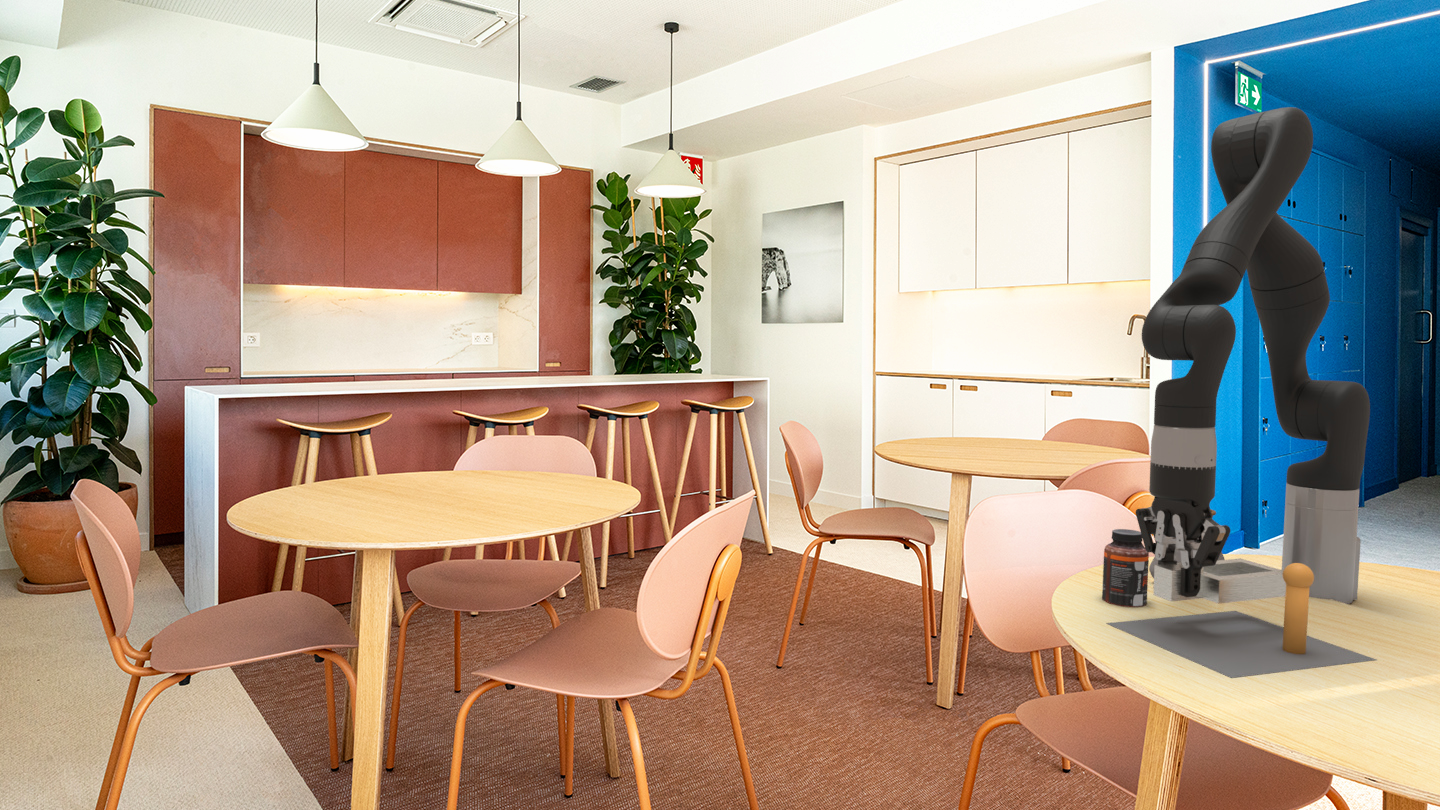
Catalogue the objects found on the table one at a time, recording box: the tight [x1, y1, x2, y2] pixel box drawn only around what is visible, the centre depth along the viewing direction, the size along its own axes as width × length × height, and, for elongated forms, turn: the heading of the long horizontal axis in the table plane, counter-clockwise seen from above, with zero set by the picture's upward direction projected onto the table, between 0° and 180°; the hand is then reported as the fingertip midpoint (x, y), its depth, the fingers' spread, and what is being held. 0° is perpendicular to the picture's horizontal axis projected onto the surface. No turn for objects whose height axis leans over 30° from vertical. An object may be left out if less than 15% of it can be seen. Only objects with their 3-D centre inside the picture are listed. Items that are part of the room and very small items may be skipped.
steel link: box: [1152, 558, 1286, 604], centre depth 116 cm, size 17×8×4 cm, turn 107°
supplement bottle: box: [1101, 528, 1150, 608], centre depth 128 cm, size 6×6×11 cm
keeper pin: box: [1282, 563, 1314, 654], centre depth 107 cm, size 3×3×11 cm
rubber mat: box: [1105, 610, 1378, 679], centre depth 111 cm, size 22×20×1 cm
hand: (1177, 591), depth 115 cm, fingers closed on steel link, 3 cm apart
